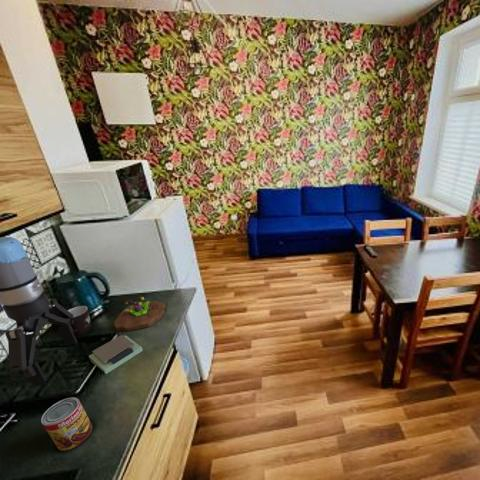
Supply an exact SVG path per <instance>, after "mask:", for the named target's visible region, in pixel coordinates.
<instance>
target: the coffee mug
mask: <svg viewBox="0 0 480 480" xmlns="http://www.w3.org/2000/svg"><path fill="white" fill-rule="evenodd" d="M67 311H69V312H70V313H71V314H73V316H74V317H73V318H72V319H70V320H74V323H73V324H70V325H71V327H72V329H73V333H74V335H75V336H81V335H85V334H86V333H88V332H90V331H91V330H92V328H93V326H92V322H91V321H92V320H91V317H90V312H89V308H88V306H86V305H79V306H75V307H72V308H70V309H68V310H67Z"/></svg>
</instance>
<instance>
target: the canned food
mask: <svg viewBox="0 0 480 480" xmlns="http://www.w3.org/2000/svg"><path fill="white" fill-rule="evenodd" d="M40 423H41V424H42V426H43V428H44V429H45V431H46V433H48V436H49V437H50V438H51V440H52V441H53V443H54V445H55V446H56V448H57V450H59V451H68V450H71V449H73V448H76V447H77V446H79V445H81V444H82V443H83V442H84V441H85V440H86V439H87V438H88V437H89V436H90V434H91V433H92V430H93V424H92V421H91V420H90V418H89V416H88V414H87V412H86V411H85V408H84V407H83V404H82V403H81V401H80V399H79V398H78V397H73V396H71V397H67V398H66V397H65V398H64V399H61V400H58V401H57V402H56V403H54V404H52V406H50V407H48V409H47V410H46V411H45V412H44V413H43V414H42V416H41V418H40Z"/></svg>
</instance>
